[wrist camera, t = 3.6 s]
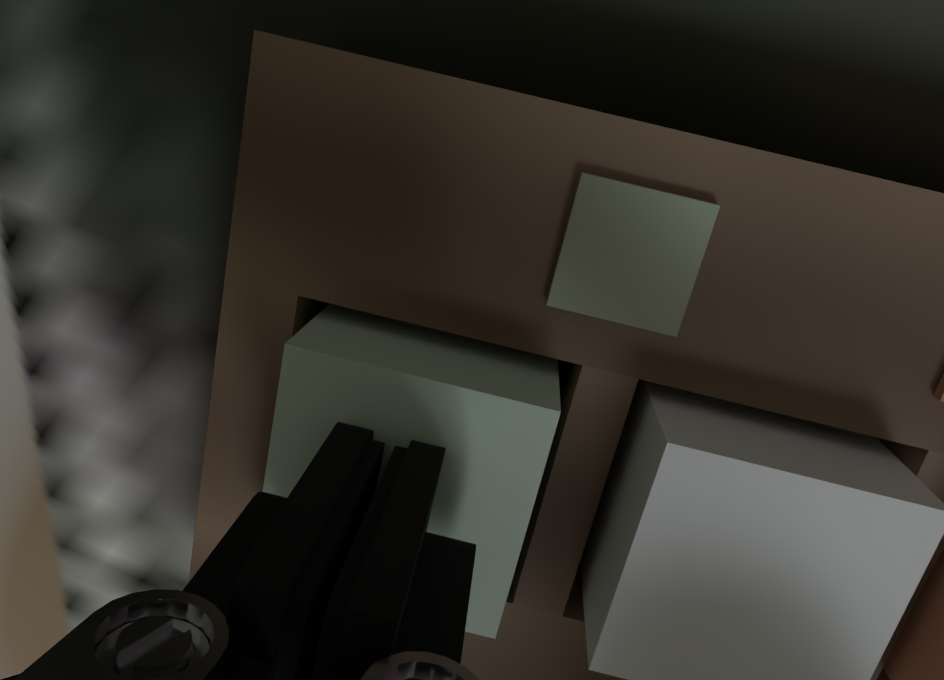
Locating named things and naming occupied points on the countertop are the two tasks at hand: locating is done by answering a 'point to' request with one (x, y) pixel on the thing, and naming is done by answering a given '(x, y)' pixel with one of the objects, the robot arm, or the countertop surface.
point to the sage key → (427, 426)
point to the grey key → (749, 545)
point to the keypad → (566, 287)
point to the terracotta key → (922, 635)
